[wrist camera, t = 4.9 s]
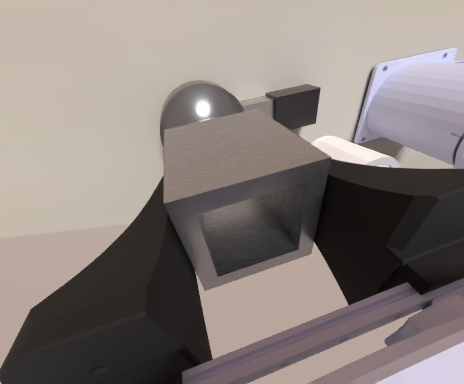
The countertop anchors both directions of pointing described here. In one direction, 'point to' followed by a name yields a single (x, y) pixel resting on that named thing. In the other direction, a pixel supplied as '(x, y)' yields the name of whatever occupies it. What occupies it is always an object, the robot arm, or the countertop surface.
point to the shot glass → (353, 152)
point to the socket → (242, 194)
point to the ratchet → (237, 105)
